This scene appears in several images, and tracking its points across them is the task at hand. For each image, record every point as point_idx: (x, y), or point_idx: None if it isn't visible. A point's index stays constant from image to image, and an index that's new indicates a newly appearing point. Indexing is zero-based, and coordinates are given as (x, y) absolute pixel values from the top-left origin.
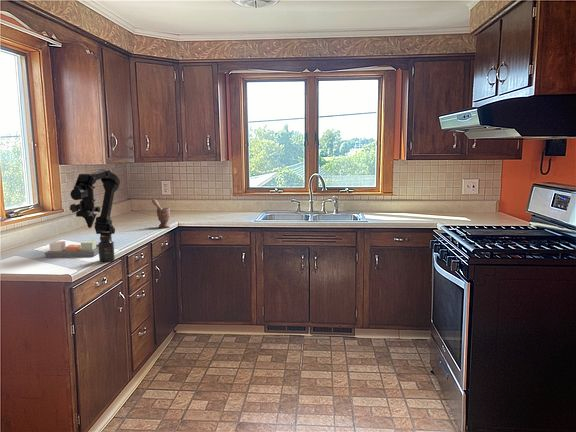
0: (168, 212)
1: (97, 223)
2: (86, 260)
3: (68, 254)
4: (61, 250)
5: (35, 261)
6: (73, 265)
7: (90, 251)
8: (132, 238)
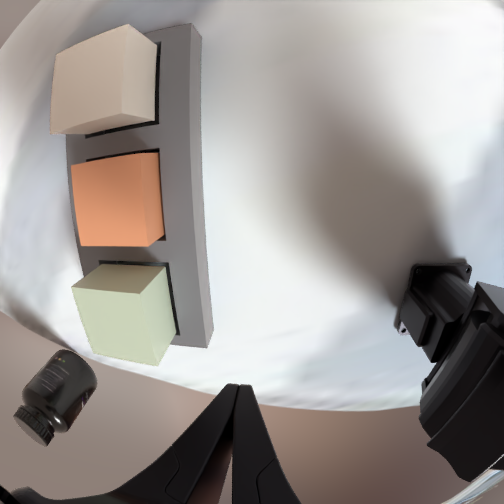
0: None
1: (485, 382)
2: (58, 301)
3: None
4: (88, 133)
5: (37, 78)
6: (10, 274)
7: None
8: None
